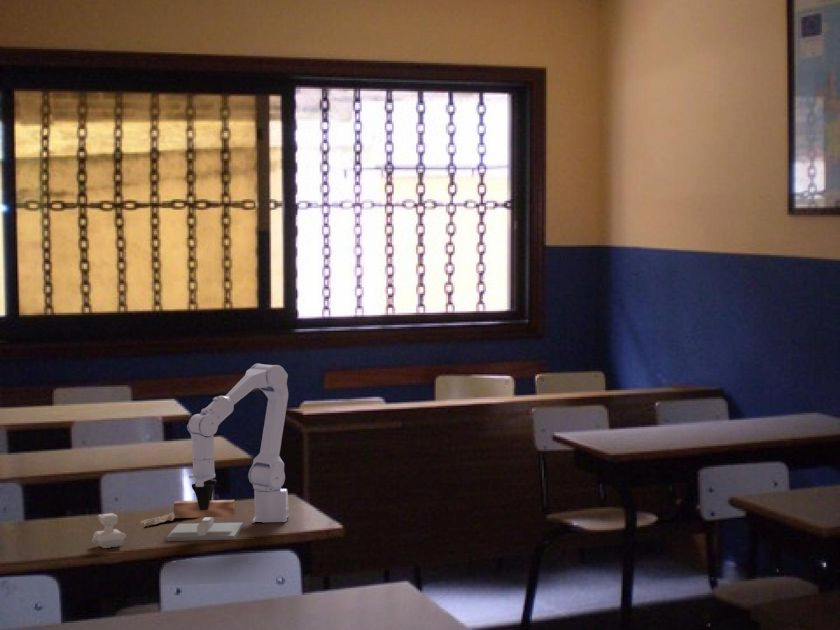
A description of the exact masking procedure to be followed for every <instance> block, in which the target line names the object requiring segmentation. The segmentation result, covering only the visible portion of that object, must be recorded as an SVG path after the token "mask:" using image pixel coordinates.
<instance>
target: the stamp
mask: <svg viewBox="0 0 840 630" xmlns="http://www.w3.org/2000/svg"><path fill="white" fill-rule="evenodd" d="M97 517H98V521H99V523H100V524H101V525H102V526H104V528H103V530H96V531H94V533H93V537H92V539H91V542H92V544H98V545H99V547H101V548H102V549H112V548H111V547H113V548H118V547H120V546H121V544H122V543H123V542H124V540H125V539H126V538H127V535H126V533H124V532H122V531H120V530H119V529H117V528H114V525H116V524H117V523H118V520H119V519H118V518H119V517H118V515H117V514H116V513H113V512H110V513H103V514H98V515H97Z"/></svg>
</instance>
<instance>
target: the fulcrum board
mask: <svg viewBox="0 0 840 630" xmlns="http://www.w3.org/2000/svg"><path fill="white" fill-rule="evenodd" d="M214 518H215V517H203V518H202V520H201V521H200V522H199V523H197V522H196V523H177V525H176V526H175V527H174V528H173V529H172V530H171V532H170V533H169V534H168V535H167V536H166V542H175V541H176V542H179V541H184V542H185V541H219V540H220V541H223V540H226V541H228V540H230V541H231V540H235V539H236V538H237V537H238V535H239V534H240V532H241V530H242V529H243V527H244V522H214V521H215V519H214ZM241 528H242V529H241Z"/></svg>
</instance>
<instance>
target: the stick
mask: <svg viewBox="0 0 840 630" xmlns="http://www.w3.org/2000/svg"><path fill="white" fill-rule="evenodd" d="M173 512H174V519H184V518H187V519H188V518H189V519H193V518H194V519H195V518H196V519H197V518H204V517H214V518H232V517H233V518H234V517H235V515H236V501H235V499H218V500H217V499H215V500H213V499H212V500H209V507H208V510H200V509H199V505H198V501H197V500H175V501H174V503H173Z"/></svg>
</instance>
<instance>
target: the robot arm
mask: <svg viewBox="0 0 840 630" xmlns="http://www.w3.org/2000/svg"><path fill="white" fill-rule="evenodd" d="M288 377H289V374H288V373H287V371H286V370H285V369H284V367H283V366H282V365H279V364H262V363H259V362H258V363H255V364H253V365H252V366H250V368H249V369H247V370H246V371H245V375H244V376H242V378H241V379H240V380H239V381H238V382H237V383H236V384H235V385H234V386H233V387H232V388H231V390H229V391H228V393H226V394H225V395H218V396H215V397H213V398H212V401H211V403H210V404H208V406H206V407H205V408H202V409H201V411H200V413H196V414H194V415H192V416H191V418H189V420H188V424H187V425H186V429H187V431H188V432H189V434H190V437H191V438H190V439H191V445H192V471H193V472H192V473H191V474H189V475H188V478H189V479H193V480H194V481H195V483H192V484H191V488H192V490H193V492H194V494H195V497H196V501H198V505H199V509H200V510H208V507H209V500H213V493H214V489H215V486H216V484H217V481H218V480H217V479H215V478H216V472H215V471H216V470H215V443H214V435H215V434H216V433H217V431H218V429H219V426H220V425H221V423H222V422H223V421H225V419H226V418H227V417H229V416H230V415H231V414H232V413H233V412H234V410H235V409H234V406H235V405H236V404H237V403H238V402H239V401H241V399H243V398H244V397H246V396H247V395H248V394H249V393H250V392H252V391H253V390H255V389H259V390H260V391H262V392H263V394H265V396H266V398H267V402H266V403H267V405H266V410H265V417H264V425H263V430H262V437H261V438H262V439H261V442H260V443H261V444H260V450H259V453H258V454H257V455H256V456H255V457H254V458H253V460H252V465H251V467H250V468H249V471H248V475H247V477H248V480H249V483H251V484H252V489H253V490H254V491H253V494H254V517H253V519H252V520H251V521H252V522H251V523H252V524H253V523H254V524H255V522H262V523H285V522H287V521H288V519H289V517H288V516H290V515H289V514H290V510H289V492H288V489H287V488H282V487H283V486H284V483H285V480H286V473H285V463H284V461H283V460H282V458H281V456H280V453H281V448H282V447H281V446H282V438H283V432H284V426H285V420H286V415H287V414H286V413H287V407H288V401H289V390H288V384H287V383H288ZM287 518H288V519H287Z"/></svg>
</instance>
